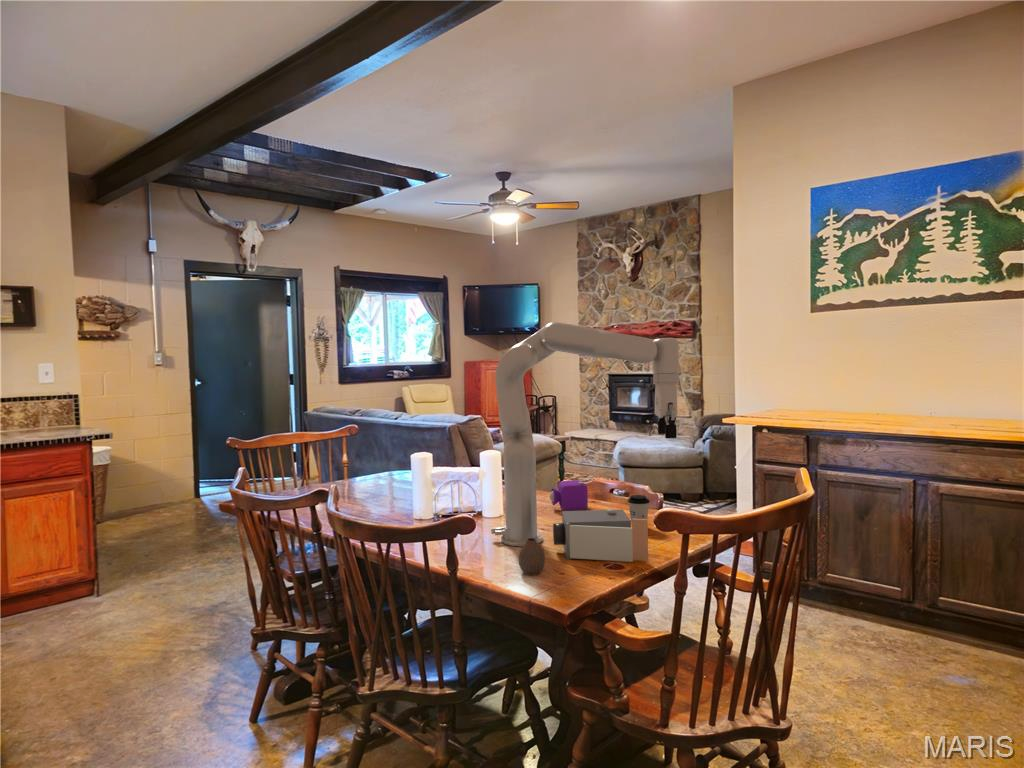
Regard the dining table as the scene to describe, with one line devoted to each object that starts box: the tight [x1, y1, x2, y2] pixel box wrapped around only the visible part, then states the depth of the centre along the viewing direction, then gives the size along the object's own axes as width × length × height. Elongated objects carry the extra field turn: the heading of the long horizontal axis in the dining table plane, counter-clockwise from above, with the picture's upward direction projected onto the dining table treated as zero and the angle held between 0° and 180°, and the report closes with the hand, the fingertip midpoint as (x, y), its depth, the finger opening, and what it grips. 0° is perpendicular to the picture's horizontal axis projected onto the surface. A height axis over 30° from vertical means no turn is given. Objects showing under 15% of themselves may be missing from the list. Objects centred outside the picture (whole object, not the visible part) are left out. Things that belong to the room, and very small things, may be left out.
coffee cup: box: [627, 494, 651, 525], centre depth 195 cm, size 7×7×10 cm
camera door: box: [565, 518, 649, 563], centre depth 165 cm, size 22×1×12 cm, turn 75°
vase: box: [518, 538, 546, 576], centre depth 158 cm, size 7×7×9 cm
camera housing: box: [552, 508, 632, 559], centre depth 174 cm, size 21×12×11 cm, turn 90°
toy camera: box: [549, 480, 589, 511], centre depth 221 cm, size 11×14×10 cm
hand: (667, 435), depth 183 cm, fingers open, 9 cm apart
